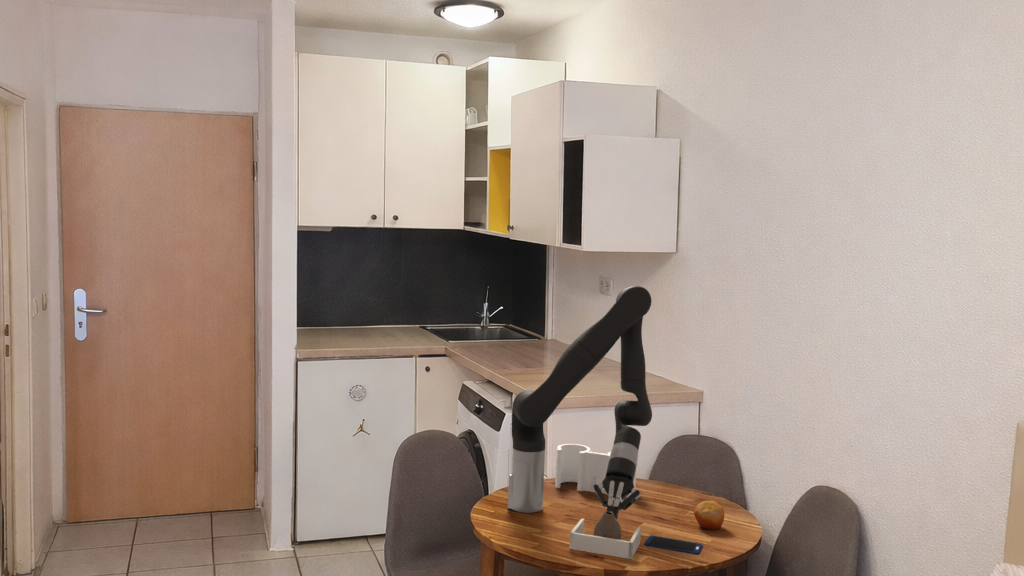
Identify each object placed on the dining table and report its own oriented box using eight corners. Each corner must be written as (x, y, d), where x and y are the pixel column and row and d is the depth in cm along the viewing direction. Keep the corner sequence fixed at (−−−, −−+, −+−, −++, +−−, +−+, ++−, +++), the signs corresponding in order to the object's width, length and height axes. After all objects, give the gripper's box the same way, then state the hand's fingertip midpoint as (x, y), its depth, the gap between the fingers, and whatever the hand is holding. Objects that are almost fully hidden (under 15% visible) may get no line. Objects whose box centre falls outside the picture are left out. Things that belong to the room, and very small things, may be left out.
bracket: (638, 491, 255) (640, 452, 254) (631, 499, 246) (633, 459, 245) (561, 479, 264) (563, 442, 263) (551, 487, 255) (553, 448, 254)
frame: (569, 548, 204) (569, 532, 204) (580, 533, 216) (581, 518, 215) (631, 559, 199) (632, 542, 199) (640, 542, 210) (640, 527, 210)
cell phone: (698, 556, 204) (698, 553, 204) (643, 546, 209) (643, 543, 209) (703, 546, 211) (703, 543, 211) (649, 537, 216) (649, 534, 216)
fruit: (725, 517, 229) (725, 497, 224) (722, 539, 223) (722, 519, 218) (696, 513, 231) (695, 493, 227) (692, 535, 225) (692, 515, 221)
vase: (590, 549, 204) (592, 515, 204) (596, 540, 211) (598, 506, 210) (618, 554, 202) (619, 519, 202) (623, 544, 209) (624, 510, 208)
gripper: (597, 453, 223) (583, 510, 212) (645, 459, 219) (634, 518, 208) (600, 467, 228) (587, 524, 218) (648, 473, 224) (637, 532, 213)
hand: (610, 521), depth 213 cm, fingers closed
